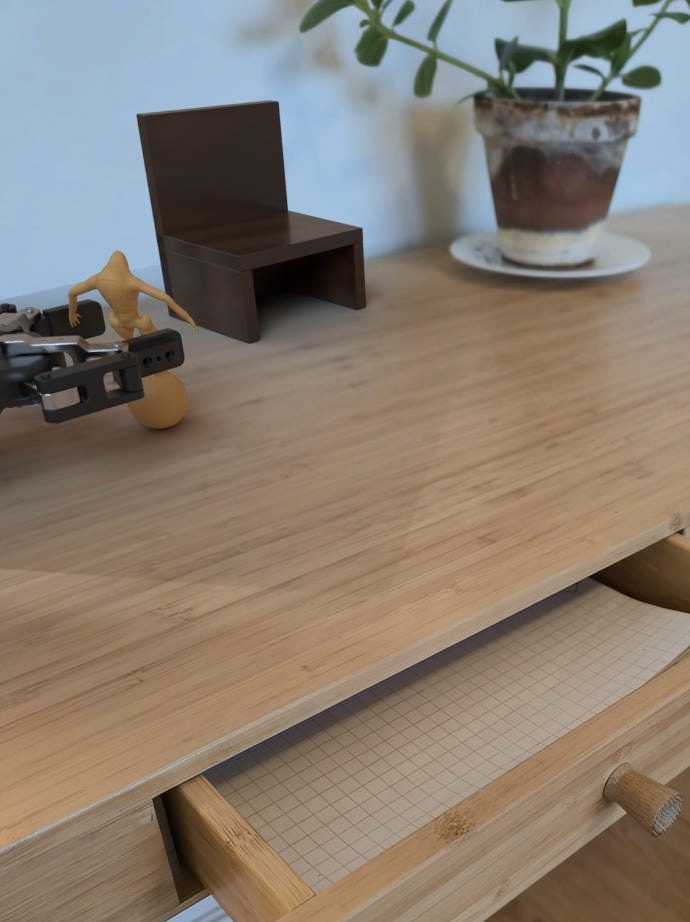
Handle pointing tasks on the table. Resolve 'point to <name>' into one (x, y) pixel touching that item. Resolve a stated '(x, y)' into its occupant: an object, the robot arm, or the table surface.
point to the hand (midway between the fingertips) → (138, 330)
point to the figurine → (122, 293)
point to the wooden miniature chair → (238, 219)
